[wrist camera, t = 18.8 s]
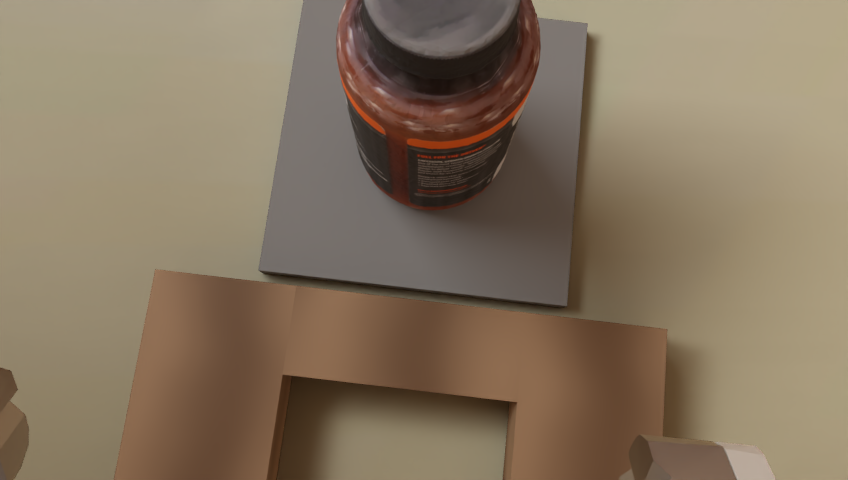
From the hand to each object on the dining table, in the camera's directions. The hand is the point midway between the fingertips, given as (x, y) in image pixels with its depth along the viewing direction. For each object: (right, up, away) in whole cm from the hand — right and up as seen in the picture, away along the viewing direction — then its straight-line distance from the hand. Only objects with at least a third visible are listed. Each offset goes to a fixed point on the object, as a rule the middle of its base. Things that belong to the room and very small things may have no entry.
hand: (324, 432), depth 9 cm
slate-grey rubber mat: (+2, +6, +19) cm, 20 cm away
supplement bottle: (+2, +6, +19) cm, 20 cm away
